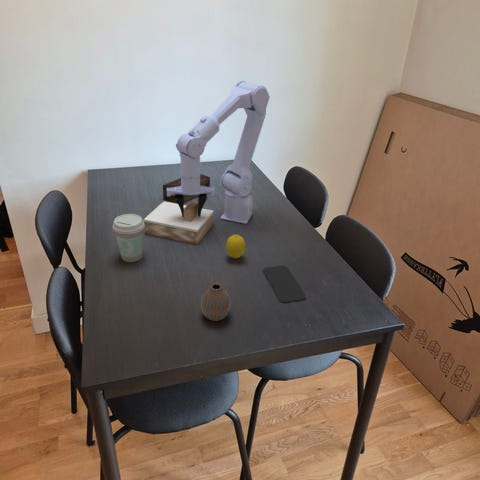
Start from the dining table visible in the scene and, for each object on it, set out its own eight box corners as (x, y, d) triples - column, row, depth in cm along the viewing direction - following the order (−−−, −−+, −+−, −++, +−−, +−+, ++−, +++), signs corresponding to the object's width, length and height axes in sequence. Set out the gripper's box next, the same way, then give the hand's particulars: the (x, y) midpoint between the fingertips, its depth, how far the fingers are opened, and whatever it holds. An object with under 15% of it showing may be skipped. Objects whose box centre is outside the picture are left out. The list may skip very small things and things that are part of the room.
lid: (213, 212, 129) (213, 199, 126) (197, 232, 117) (197, 218, 115) (164, 203, 133) (163, 190, 130) (143, 221, 121) (142, 207, 119)
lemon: (240, 251, 117) (241, 228, 113) (247, 261, 113) (248, 238, 109) (222, 254, 115) (223, 231, 111) (229, 264, 111) (230, 241, 107)
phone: (280, 302, 98) (261, 268, 110) (280, 305, 98) (261, 270, 110) (307, 298, 100) (286, 264, 112) (307, 301, 100) (285, 267, 112)
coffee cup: (111, 254, 112) (106, 218, 106) (138, 245, 117) (135, 210, 111) (124, 268, 107) (120, 230, 101) (152, 258, 112) (149, 222, 106)
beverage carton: (211, 190, 155) (211, 175, 151) (177, 206, 141) (177, 190, 138) (196, 185, 159) (195, 170, 155) (161, 200, 145) (160, 184, 142)
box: (213, 224, 131) (213, 213, 129) (197, 244, 120) (197, 233, 117) (164, 214, 135) (164, 204, 133) (144, 233, 124) (143, 222, 121)
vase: (195, 317, 92) (194, 288, 87) (212, 302, 97) (213, 273, 92) (218, 329, 89) (219, 300, 84) (235, 313, 94) (237, 284, 89)
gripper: (213, 170, 121) (212, 209, 128) (165, 170, 119) (167, 210, 126) (215, 178, 115) (214, 219, 122) (166, 179, 113) (168, 220, 120)
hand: (191, 215), depth 123 cm, fingers closed on lid, 4 cm apart
